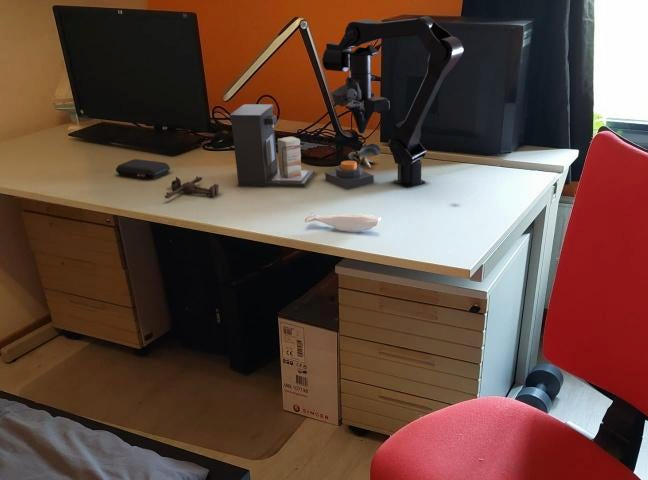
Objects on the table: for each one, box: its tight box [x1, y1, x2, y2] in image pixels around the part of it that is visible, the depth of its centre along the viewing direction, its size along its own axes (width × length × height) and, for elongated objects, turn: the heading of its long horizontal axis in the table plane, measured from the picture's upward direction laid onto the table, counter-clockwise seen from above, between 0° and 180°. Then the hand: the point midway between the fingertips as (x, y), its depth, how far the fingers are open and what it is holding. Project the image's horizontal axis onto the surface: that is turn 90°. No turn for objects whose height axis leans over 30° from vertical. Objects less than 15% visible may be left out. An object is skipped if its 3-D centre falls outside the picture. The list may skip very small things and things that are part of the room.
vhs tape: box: [300, 140, 335, 158], centre depth 228 cm, size 14×8×2 cm, turn 55°
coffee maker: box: [228, 103, 315, 189], centre depth 199 cm, size 19×14×19 cm
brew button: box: [340, 160, 357, 170], centre depth 199 cm, size 4×4×2 cm
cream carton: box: [277, 135, 302, 178], centre depth 200 cm, size 5×4×10 cm
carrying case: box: [115, 158, 171, 180], centre depth 212 cm, size 11×3×15 cm
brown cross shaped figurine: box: [164, 175, 220, 199], centre depth 195 cm, size 18×4×14 cm
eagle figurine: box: [347, 143, 382, 169], centre depth 212 cm, size 8×7×9 cm
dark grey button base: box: [324, 164, 375, 190], centre depth 200 cm, size 11×9×4 cm
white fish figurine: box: [304, 212, 382, 233], centre depth 169 cm, size 6×18×4 cm, turn 71°
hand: (361, 133), depth 199 cm, fingers closed
